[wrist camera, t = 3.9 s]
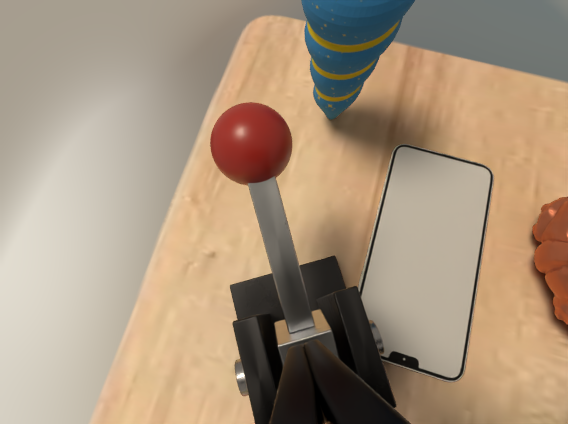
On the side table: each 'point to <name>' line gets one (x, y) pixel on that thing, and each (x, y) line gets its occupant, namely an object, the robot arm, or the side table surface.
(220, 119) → the switch lever
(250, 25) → the side table surface
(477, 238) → the smartphone
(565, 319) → the heart
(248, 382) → the switch bracket
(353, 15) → the ornament
